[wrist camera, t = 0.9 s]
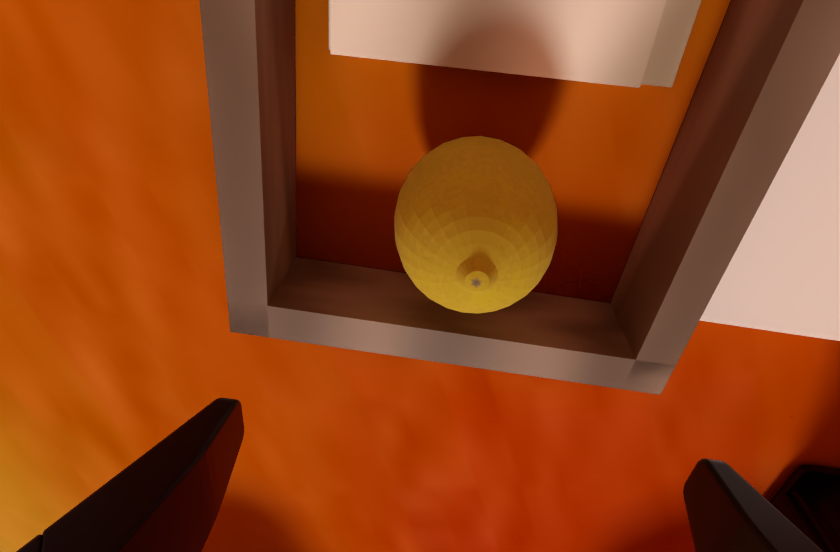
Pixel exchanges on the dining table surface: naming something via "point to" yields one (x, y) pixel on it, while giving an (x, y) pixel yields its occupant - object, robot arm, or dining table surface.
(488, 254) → the lemon
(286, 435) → the dining table surface
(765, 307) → the tile
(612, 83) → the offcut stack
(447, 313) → the walnut rack
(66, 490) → the dining table surface
